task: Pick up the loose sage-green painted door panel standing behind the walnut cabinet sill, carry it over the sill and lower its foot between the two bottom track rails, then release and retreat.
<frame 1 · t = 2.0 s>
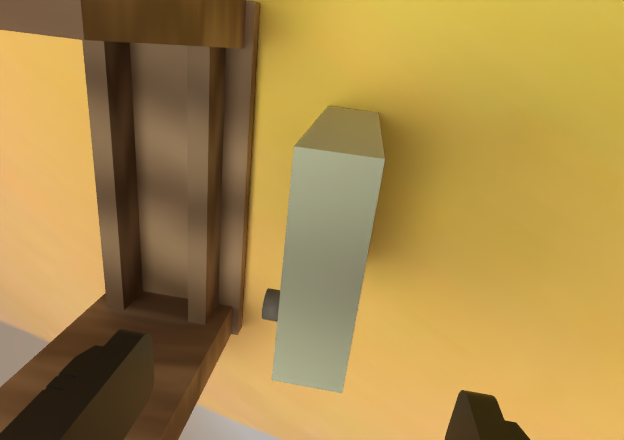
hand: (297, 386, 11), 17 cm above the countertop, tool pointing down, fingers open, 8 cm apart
door frame: (176, 179, 28), on the countertop
door panel: (341, 188, 26), on the countertop
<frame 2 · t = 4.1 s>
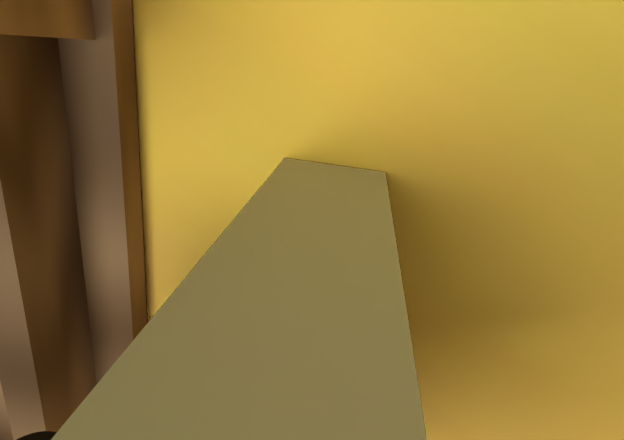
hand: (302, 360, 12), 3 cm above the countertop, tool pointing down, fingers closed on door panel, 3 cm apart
door frame: (16, 280, 15), on the countertop
door panel: (315, 307, 14), on the countertop, touching gripper
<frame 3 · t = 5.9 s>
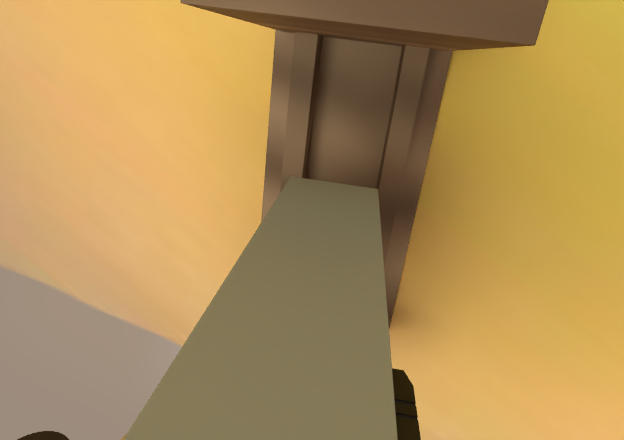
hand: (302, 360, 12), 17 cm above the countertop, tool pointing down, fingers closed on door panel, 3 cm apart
door frame: (341, 181, 28), on the countertop
door panel: (317, 305, 16), point 13 cm above the countertop, touching gripper
when the fingers open (6 cm above the countertop, at t = 8.0 s): door panel stays where it is, resting on door frame.
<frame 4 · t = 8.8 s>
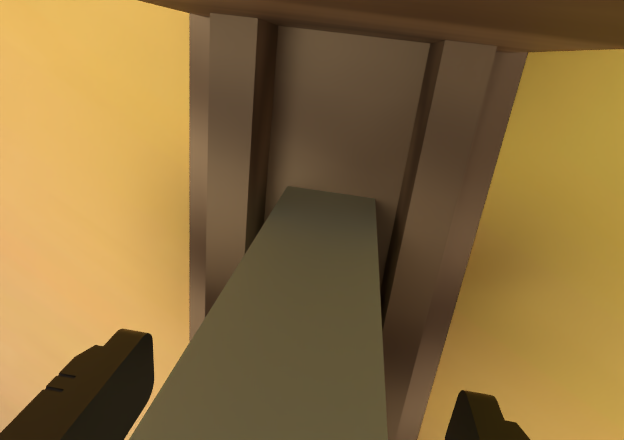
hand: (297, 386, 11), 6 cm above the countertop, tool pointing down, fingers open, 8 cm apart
door frame: (321, 272, 16), on the countertop
door panel: (314, 315, 16), point 1 cm above the countertop, touching door frame
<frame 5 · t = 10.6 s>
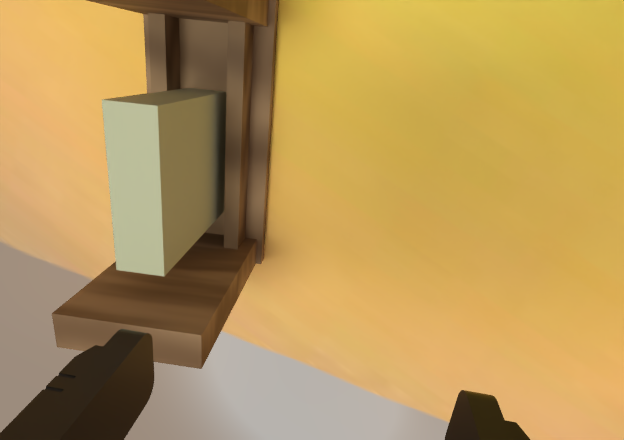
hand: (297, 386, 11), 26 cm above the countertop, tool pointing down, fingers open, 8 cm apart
door frame: (211, 134, 35), on the countertop
door panel: (207, 152, 34), point 1 cm above the countertop, touching door frame
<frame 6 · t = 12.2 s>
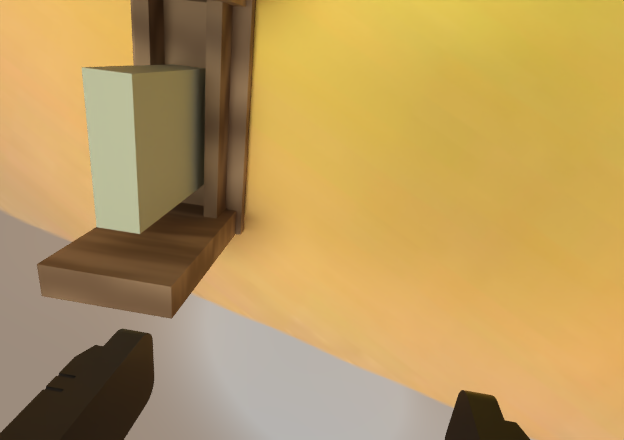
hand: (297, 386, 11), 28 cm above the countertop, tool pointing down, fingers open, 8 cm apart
door frame: (194, 109, 37), on the countertop
door panel: (190, 126, 37), point 1 cm above the countertop, touching door frame
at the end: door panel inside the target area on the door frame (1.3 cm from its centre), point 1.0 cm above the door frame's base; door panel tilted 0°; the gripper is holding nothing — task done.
